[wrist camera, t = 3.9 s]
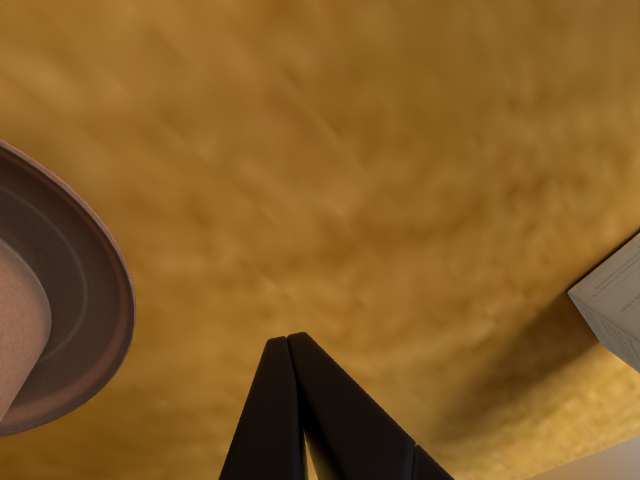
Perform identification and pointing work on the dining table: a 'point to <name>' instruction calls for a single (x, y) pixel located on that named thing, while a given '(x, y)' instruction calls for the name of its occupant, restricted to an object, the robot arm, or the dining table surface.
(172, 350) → the dining table surface
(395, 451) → the robot arm
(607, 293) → the white packaging box
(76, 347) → the cup and saucer
